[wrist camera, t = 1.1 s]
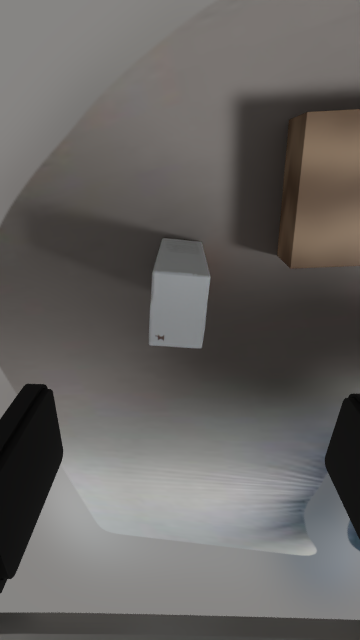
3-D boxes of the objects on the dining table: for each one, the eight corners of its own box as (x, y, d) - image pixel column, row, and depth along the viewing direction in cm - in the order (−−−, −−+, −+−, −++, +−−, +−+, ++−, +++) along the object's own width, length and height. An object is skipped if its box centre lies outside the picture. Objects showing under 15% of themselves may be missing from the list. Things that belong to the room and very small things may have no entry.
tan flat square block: (393, 249, 33) (426, 263, 29) (276, 254, 34) (290, 268, 29) (427, 112, 28) (473, 102, 23) (287, 120, 28) (307, 112, 24)
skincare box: (197, 294, 35) (202, 352, 24) (158, 291, 35) (146, 347, 24) (203, 239, 33) (212, 275, 22) (161, 235, 33) (149, 270, 22)
